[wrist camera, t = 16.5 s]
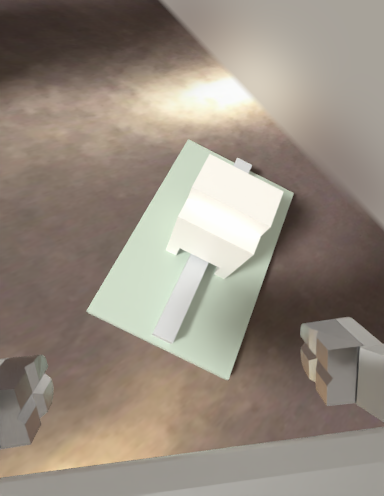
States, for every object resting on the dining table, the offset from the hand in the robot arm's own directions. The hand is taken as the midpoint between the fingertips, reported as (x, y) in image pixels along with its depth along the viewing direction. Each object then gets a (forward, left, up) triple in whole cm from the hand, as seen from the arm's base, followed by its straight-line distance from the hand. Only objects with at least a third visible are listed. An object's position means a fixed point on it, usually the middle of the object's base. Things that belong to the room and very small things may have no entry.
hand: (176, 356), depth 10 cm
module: (+5, +10, -14) cm, 18 cm away
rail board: (+5, +10, -15) cm, 18 cm away
